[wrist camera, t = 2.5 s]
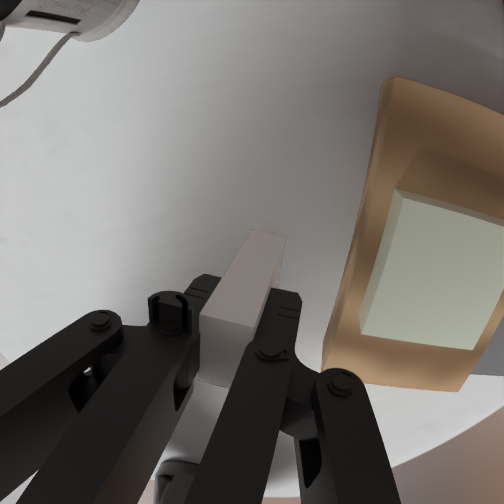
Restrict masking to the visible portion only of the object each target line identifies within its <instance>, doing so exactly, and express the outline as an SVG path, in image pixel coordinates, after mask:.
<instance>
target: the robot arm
mask: <svg viewBox="0 0 504 504" xmlns="http://www.w3.org/2000/svg"><path fill="white" fill-rule="evenodd" d="M285 240H286V236H285V235H280V234H275V233H270V232H264V231H259V230H254V229H253V230H252V231H251V233H250V234H249V236H248V238H247V239H246V241H245V242H244V244H243V246H242V247H241V249H240V250H239V252H238V253H237V255H236V257H235V258H234V260H233V261H232V263H231V264H230V266H229V268H228V269H227V271H226V272H225V274H224V276H223V277H222V278H221V277H217V276H212V275H208V274H203V275H201V276H199V277H197V278H196V279H194V280H193V282H192V283H191V284H190V285H189V287H188V288H187V289H186V291H185V292H184V294H183V293H180V292H176V291H161V292H158V293H155V294H153V295H152V296H150V297H149V298H148V308H149V320H150V322H149V323H148V324H147V326H129V325H122V321H121V318H120V316H119V315H117V314H116V313H115V312H112V311H109V310H97V311H92V312H90V313H88V314H86V315H84V316H83V317H81V318H80V319H78V320H76V321H75V322H73V323H72V324H70V325H69V326H67V327H66V328H64V329H62V330H61V331H59V332H58V333H56V334H55V335H53V336H52V337H50V338H48V339H47V340H45V341H44V342H42V343H41V344H39V345H38V346H36V347H35V348H33V349H32V350H30V351H29V352H27V353H26V354H24V355H23V356H21V357H20V358H18V359H17V360H15V361H14V362H12V363H11V364H9V365H8V366H6V367H5V368H3V369H2V370H0V501H2V500H3V499H4V498H5V497H6V496H8V495H9V494H10V493H11V492H12V491H13V490H15V489H16V488H17V487H18V486H19V485H21V484H22V483H23V482H24V481H26V480H27V479H28V478H29V477H30V476H32V475H33V474H34V473H35V472H36V471H37V470H38V472H37V473H36V474H35V476H34V477H33V479H32V480H31V482H30V483H29V485H28V486H27V488H26V489H25V491H24V492H23V494H22V495H21V496H20V498H19V499H18V501H17V502H16V504H137V503H138V501H139V499H140V497H141V495H142V493H143V491H144V489H145V487H146V485H147V483H148V481H149V479H150V477H151V475H152V473H153V471H154V469H155V467H156V465H157V463H158V461H159V459H160V457H161V455H162V453H163V451H164V449H165V447H166V445H167V443H168V441H169V439H170V437H171V435H172V433H173V431H174V429H175V427H176V425H177V423H178V421H179V419H180V417H181V415H182V413H183V411H184V408H185V406H186V404H187V402H188V400H189V398H190V396H191V394H192V392H193V380H194V378H195V376H196V374H197V372H198V380H199V381H203V382H206V383H210V384H214V385H217V386H221V387H225V388H228V389H230V390H229V392H228V395H227V397H226V400H225V402H224V405H223V408H222V410H221V413H220V415H219V418H218V420H217V423H216V425H215V428H214V430H213V433H212V435H211V438H210V440H209V443H208V445H207V448H206V450H205V453H204V455H203V458H202V460H201V463H200V465H195V464H191V463H186V462H179V461H168V462H164V463H162V464H161V465H160V467H159V469H158V471H157V473H156V475H155V485H154V499H153V504H261V503H262V499H263V495H264V491H265V487H266V483H267V479H268V475H269V471H270V467H271V463H272V459H273V455H274V450H275V446H276V442H277V437H278V433H279V430H281V431H282V432H284V433H286V434H288V435H290V436H292V437H294V443H295V452H296V461H297V470H298V478H299V487H300V497H301V504H401V502H400V498H399V494H398V491H397V487H396V484H395V480H394V477H393V473H392V470H391V466H390V463H389V460H388V456H387V453H386V450H385V447H384V443H383V440H382V437H381V434H380V431H379V427H378V424H377V421H376V418H375V415H374V412H373V409H372V406H371V403H370V400H369V397H368V394H367V391H366V388H365V386H364V384H363V382H362V380H361V379H360V378H359V377H358V376H357V375H356V374H355V373H353V372H351V371H349V370H346V369H342V368H330V369H326V370H324V371H323V372H321V373H318V372H316V371H314V370H311V369H310V368H308V367H306V366H305V365H303V364H302V363H301V362H300V361H299V359H298V358H297V357H296V354H295V342H296V337H297V331H298V325H299V319H300V314H301V308H302V300H301V298H300V296H299V294H298V293H296V292H291V291H286V290H281V289H277V285H278V280H279V274H280V269H281V263H282V257H283V251H284V246H285ZM89 367H90V368H91V370H89V371H87V372H85V373H84V371H85V370H86V369H88V368H89Z"/></svg>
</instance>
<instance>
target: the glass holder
mask: <svg viewBox="0 0 504 504" xmlns="http://www.w3.org/2000/svg"><path fill="white" fill-rule="evenodd" d="M138 2H139V0H0V41H1V39H2V37H3V34H4V31H5V27H19V28H29V29H38V30H46V31H53V32H60V33H66V34H67V35H65V36H64V37H63V38H62V39H61V40H60V41H59V42H58V43H57V44H56V45H55V46H54V47H53V48H52V50H51V51H50V52H49V53H48V55H47V56H46V57H45V59H44V60H43V61H42V63H41V64H40V65H39V66H38V68H37V69H36V70H35V71H34V73H33V74H32V75H31V76H30V77H29V78H28V79H27V81H26V82H25V83H24V84H23V85H22V86H21V87H19V88H18V89H17V90H16V91H15V92H13V93H12V94H10V95H9V96H7V97H6V98H5V99H3V100H2V101H0V108H1V107H3V106H5V105H7V104H8V103H9V102H11V101H12V100H14V99H15V98H17V97H18V96H20V95H21V94H22V93H23V92H25V91H26V90H27V89H28V88H30V86H31V85H32V84H33V83H34V82H35V80H36V79H37V78H38V77H39V75H40V74H41V73H42V72H43V70H44V69H45V68H46V67H47V65H48V64H49V63H50V62H51V60H52V59H53V58H54V56H55V55H56V54H57V52H58V51H59V50H60V49H61V48H62V46H63V45H64V44H65V43H66V42H67V41H68V40H69V39H70V38H71V37H72V38H73V39H76V40H78V41H82V42H91V41H95V40H99V39H101V38H103V37H105V36H107V35H109V34H110V33H112V32H113V31H115V30H116V29H117V28H118V27H119V26H121V25H122V24H123V22H124V21H125V20H126V19H127V18H128V17H129V16H130V14H131V13H132V12H133V10H134V9H135V7H136V6H137V4H138Z"/></svg>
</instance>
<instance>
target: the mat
mask: <svg viewBox="0 0 504 504" xmlns="http://www.w3.org/2000/svg"><path fill="white" fill-rule="evenodd" d="M470 374H477V375H493V376H504V315H503V317H502V319H501V321H500V323H499V325H498V327H497V329H496V331H495V333H494V334H493V336H492V338H491V340H490V342H489V343H488V345H487V347H486V349H485V350H484V352H483V354H482V355H481V357H480V359H479V360H478V362H477V364H476V365H475V367H474V368H473V370H472V372H471V373H470Z"/></svg>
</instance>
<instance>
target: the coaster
mask: <svg viewBox="0 0 504 504" xmlns="http://www.w3.org/2000/svg"><path fill="white" fill-rule="evenodd" d="M503 289H504V220H502V219H499V218H496V217H493V216H490V215H487V214H484V213H481V212H478V211H475V210H471V209H468V208H465V207H462V206H458V205H455V204H451V203H448V202H444V201H441V200H437V199H434V198H430V197H426V196H423V195H419V194H415V193H411V192H407V191H404V190H400V189H396V188H394V192H393V196H392V200H391V204H390V208H389V212H388V216H387V220H386V224H385V228H384V232H383V235H382V239H381V243H380V246H379V250H378V253H377V257H376V260H375V264H374V267H373V270H372V273H371V277H370V280H369V283H368V286H367V289H366V292H365V295H364V298H363V301H362V304H361V307H360V310H359V320H360V330H361V334H363V335H369V336H375V337H381V338H387V339H394V340H400V341H407V342H413V343H420V344H427V345H435V346H442V347H450V348H458V349H466V350H473V349H474V347H475V345H476V343H477V342H478V340H479V338H480V336H481V334H482V332H483V330H484V329H485V327H486V325H487V323H488V321H489V319H490V317H491V315H492V313H493V311H494V309H495V307H496V304H497V302H498V300H499V298H500V296H501V294H502V291H503Z"/></svg>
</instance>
